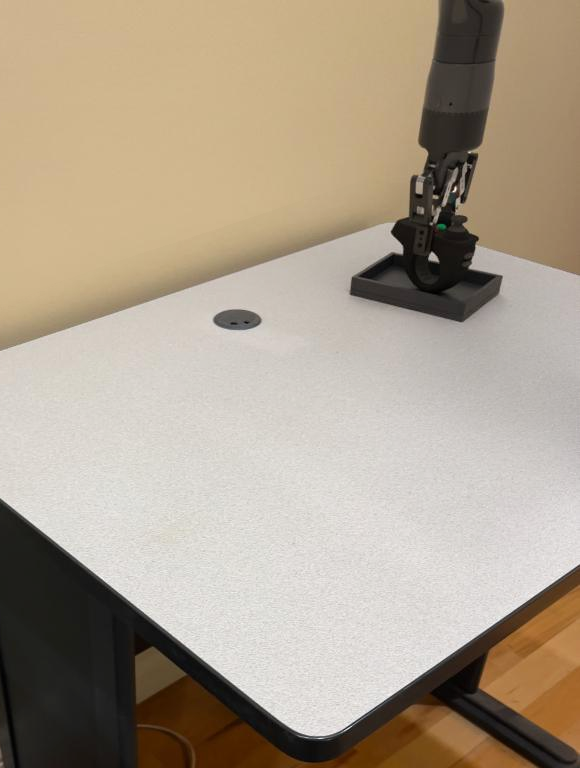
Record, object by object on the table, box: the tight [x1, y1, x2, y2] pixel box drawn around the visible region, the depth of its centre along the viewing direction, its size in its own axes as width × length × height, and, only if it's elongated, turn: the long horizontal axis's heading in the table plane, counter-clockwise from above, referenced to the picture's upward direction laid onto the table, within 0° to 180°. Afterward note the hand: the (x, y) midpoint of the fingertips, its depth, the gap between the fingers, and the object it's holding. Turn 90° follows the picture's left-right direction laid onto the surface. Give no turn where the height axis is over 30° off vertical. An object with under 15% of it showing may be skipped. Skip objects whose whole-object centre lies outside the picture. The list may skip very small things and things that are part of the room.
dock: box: [349, 251, 504, 323], centre depth 120 cm, size 16×11×2 cm
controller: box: [390, 214, 480, 293], centre depth 117 cm, size 4×12×10 cm, turn 33°
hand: (431, 247), depth 116 cm, fingers closed on controller, 5 cm apart
